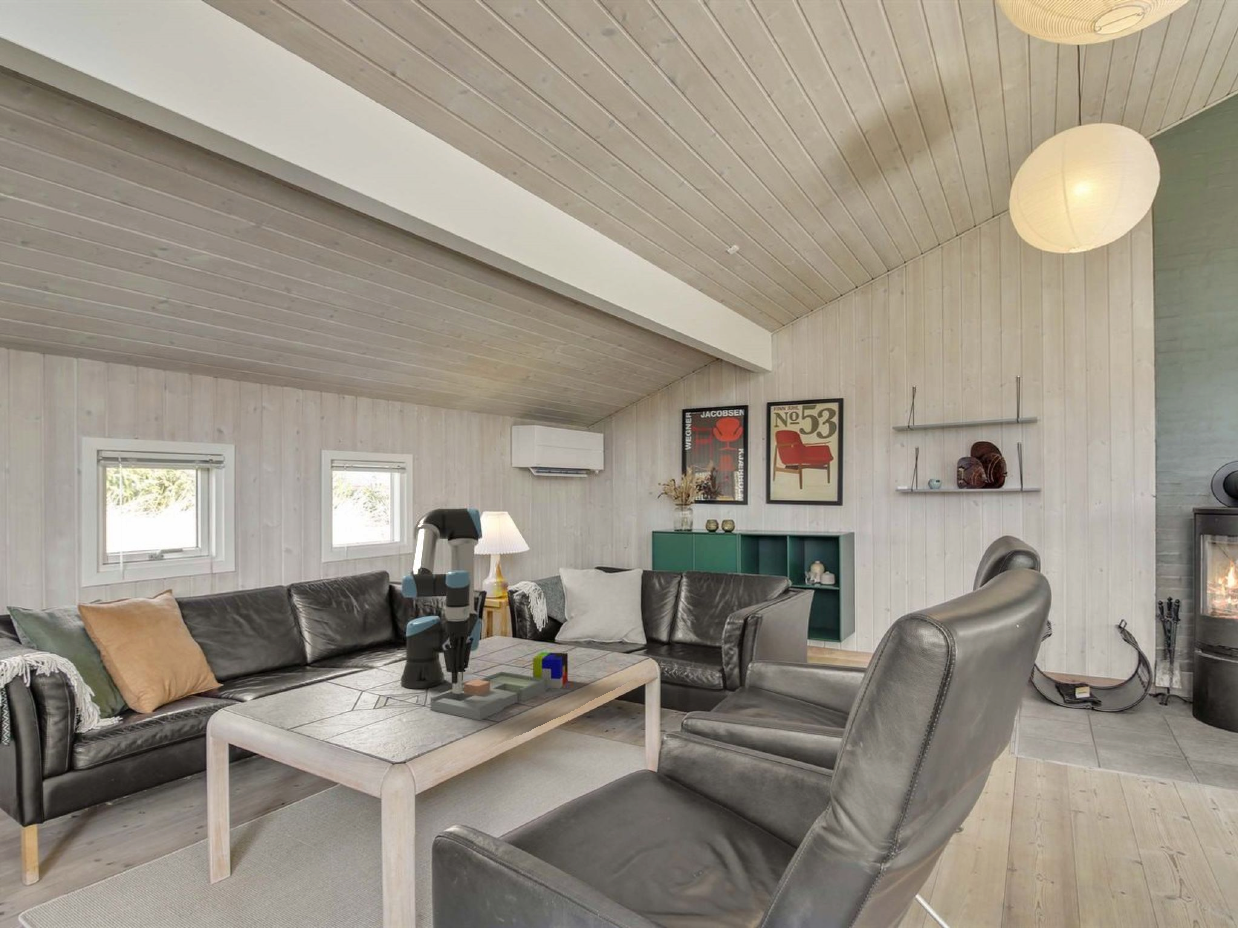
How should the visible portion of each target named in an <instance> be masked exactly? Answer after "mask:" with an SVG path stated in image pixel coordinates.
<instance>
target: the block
mask: <svg viewBox="0 0 1238 928" xmlns="http://www.w3.org/2000/svg"><path fill="white" fill-rule="evenodd" d="M463 685H464V693H466V694H472V695H477V696H479V695H481V694H484V693H486V692H489V691H490V682H488V681H482V680H480V679H473V680H471V681H468V682H465V683H463Z"/></svg>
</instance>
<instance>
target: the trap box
mask: <svg viewBox="0 0 1238 928" xmlns="http://www.w3.org/2000/svg"><path fill="white" fill-rule="evenodd" d="M479 680H482V681H488V682H490V691H489V692H486V693H484V694H481V695H479V696H477V695H472V694H466V693H464V684H462V693H460V694H457V693H453V688H452V689H449V690H446V691H444V692H441V693H438V694H435V695H432V696H430V703H429V704H430V711H434V712H438V713H442V714H448V715H453V716H457V717H461V718H466V719H467V718H468V719H471V720H476V721H481V720H484V719H486V718H488V717H491V716H493V715H496V714H497V713H500V712H503V710H504V709H505V708H507V707H510V706H512V705H514V704H516V703H518V702H522V703H523V702H525V701H527V700H530V699H532V698H534V697H536V696H538V695H541V694H544V693H546V692H547V691H548V688H547V679H543V678H537V677H533V676H530V675H525V674H524V675H523V674H517V673H512V672H506V671H500V672H497V673H494V674H491V675H488V676H485V677H482V678H480V679H479Z"/></svg>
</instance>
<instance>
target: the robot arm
mask: <svg viewBox="0 0 1238 928" xmlns="http://www.w3.org/2000/svg"><path fill="white" fill-rule="evenodd" d="M413 539H414V542H415V543H414V548H413V554H412V560H411V567H410V573H409V574H404V575H403V576H402V579H401V594H402V596H403V597H404V598H414V599H416V598H433V597H434V598H437V597H445V619H443V620H441V618H440V616H438V615H429V616H428V615H427V616H423V617H418V618H415V619H412V620H410V621H409V622H408V623H407V624H406V634H405V637H406V643H405V644H406V645H405V647H406V648H405V649H406V650H405V651H406V652H405V653H406V654H405V655H406V657H405V658H406V659H405V665H404V669H403V673H402V675H401V677H400V686H402V687H404V688H407V689H427V688H433V687H437V686H440V685H442V684H444V682H445V674H444V672H443V669H442V664H441V662H440V654H443V658H444V663H445V669H446V672H447V673H451V683H452V689H453V693H457V694H460V693H462V686H463V680H464V673H466V671H467V670H466V669H468V668H469V663H470V656H471V652H475V651H477V650H478V648H479V645H480V638H481V630H482V625H483V624H482V623H483V620H482V618H479V613H478V612H477V611H476V610H475V548H476V546H477V545H479V540H481V539H483V529H482V521H481V514H480V511H479V509H476V508H468V507H466V508H464V507H463V508H436V509H433V510H431V511H428V512H427V513H425V514H424V515H423V516H422V517H420V519H419V520H418V521H417V523H416V525H415V526H414V530H413ZM442 539H443V540H447V545H449V546H450V547H451V552H450V553H451V554H450V555H451V557H450V559H451V561H450V566H451V567H450V571H447V572H446V573H434V570H435V569H434V568H435V559H436V553H437V552H436V549H437V543H438V541H439V540H442Z"/></svg>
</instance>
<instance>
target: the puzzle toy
mask: <svg viewBox="0 0 1238 928" xmlns="http://www.w3.org/2000/svg"><path fill="white" fill-rule="evenodd" d="M568 654H569V653H567V652H566V653H565V652H550V651H549V652H547V651H545V652H544V651H543V652H540V653H539V654H537V655H536V656H535V657H533V658H532V677H537V678H543V679H547V689H548V688H549V689H561V688H562V687H564V685H565V684H566V683H567V682H568V681H569V680H568V679H569V678H568V677H569V671H568V670H569V669H568V668H569V667H568V666H569V665H568V663H569V661H568V659H569V658H568V657H569V656H568Z"/></svg>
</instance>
